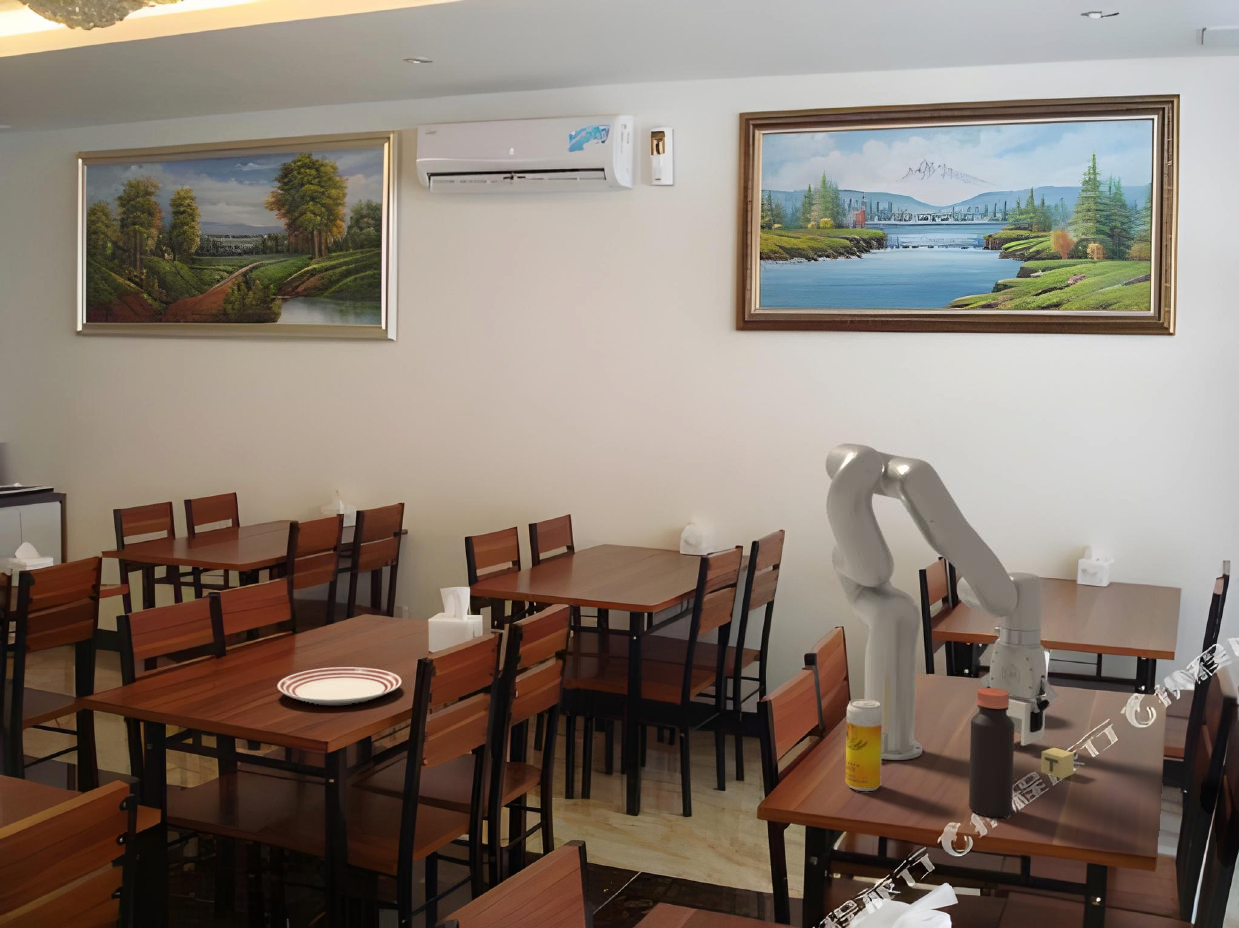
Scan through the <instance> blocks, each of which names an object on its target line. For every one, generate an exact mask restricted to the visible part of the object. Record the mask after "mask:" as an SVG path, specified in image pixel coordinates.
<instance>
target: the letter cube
mask: <svg viewBox="0 0 1239 928" xmlns="http://www.w3.org/2000/svg"><path fill="white" fill-rule="evenodd" d="M1040 760H1041V761H1040V762H1041V765H1040V766H1041V767H1040V769H1041V770H1040V773H1041V772H1045V773H1046V774H1045V775H1047V774H1050V775H1053V776H1052V777H1054V776H1055V777H1054V778H1057V777H1058V779H1060V780H1061V779H1065V778H1067V777H1069V776H1072V775H1074V764H1075V762H1074V761H1075V752H1073V751H1072V752H1071V751H1067V750H1065V749H1061V748H1056V747H1052V748H1049V749H1046V750H1043V751H1041V759H1040ZM1050 775H1049V776H1050Z"/></svg>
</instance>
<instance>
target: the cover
mask: <svg viewBox="0 0 1239 928" xmlns="http://www.w3.org/2000/svg"><path fill="white" fill-rule="evenodd" d="M1042 698H1043V700H1044V699H1045V698H1046V697H1042ZM1036 701H1037V700H1036ZM1037 702H1038V701H1037ZM1032 711H1033V709H1032V707H1031V702H1029V699H1025V698H1021V697H1016V696H1012V695H1009V707H1008V710H1007V715H1008V717H1009V718H1010V719H1011V720H1012V721H1013V723H1014V733H1019V734H1020V735H1021V736H1020V738H1021V739H1020V746H1023V747H1024V746H1027V745H1029V744H1033V743H1035V742H1037V741H1038V742H1039V741H1041V740H1044V739H1045V728H1046V727H1045V725H1046V723H1045V722H1046V719H1045V718H1046V710H1044V711H1043V726H1042V728H1041V730H1040V731H1037V732H1034V733H1033V732H1030V714H1031V712H1032Z"/></svg>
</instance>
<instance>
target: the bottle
mask: <svg viewBox="0 0 1239 928" xmlns="http://www.w3.org/2000/svg"><path fill="white" fill-rule="evenodd" d="M1008 707H1009V693H1008V692H1007V691H1005V690H1001V689H995V688H985V687H984V688H979V689H978V690H977V708H978V709H979V711H978V712H977V713H976V714H975V715H974V716H973V717H971V720H970V744H969V745H970V746H969V747H970V749H969V780H968V781H969V783H968V784H969V785H968V786H969V787H968V791H969V792H968V807H970V808H969V810H970V809H971V810H972V811H971V810H970V811H971V812H973V811H975V812H977V813H979V814H982V815H985V816H984V817H986V816H988V818H995V817H996V818H997V819H998V818H1005V817H1008V816H1010V815H1012V811H1013V791H1014V790H1013V789H1014V788H1013V786H1014V785H1013V784H1014V781H1013V780H1014V755H1015V753H1014V751H1015V750H1014V749H1015V748H1014V747H1015V732H1014V723H1013V721H1012V720H1011V719H1010V718H1009V717H1008V715H1007V710H1008ZM979 814H978V815H979ZM982 815H981V816H982Z"/></svg>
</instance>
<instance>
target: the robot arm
mask: <svg viewBox="0 0 1239 928" xmlns="http://www.w3.org/2000/svg"><path fill="white" fill-rule="evenodd" d="M825 470H826V474H827V476H828V477H829V478H830V480H831V483H830V484H829V485H830V486H829V488H828V492H827V497H826V505H825V506H826V507H825V508H826V515H827V518H828V521H829V525H830V527H831V530H832V533H833V536H834V538H835V541H836V542H835V544H834V546H833V548H832V553H831V559H832V560H831V561H832V565H833V570H834V572H835V574H836V577H837V580H838V582H839V584H840V586H841V588H842V590H843V593H844V596H845V598H846V600H847V603H848V604H849V606H850V610H851V611H852V613H853V614H854V617H855V618H856V619H857V620H858V622H860V623H861V624H862V625H863V626H865V627H866V628H868V637H867V642H866V647H865V654H864V655H865V656H864V692H863V693H864V696H863V697H864V698H863V699H869V700H874V701H877V702H879V703H880V706H881V708H882V758H881V760H889V761H890V760H891V761H901V760H902V761H904V760H911V759H916V758H919V757H920V756H921V755H922V754H923V746H922V744H921V743H919V742H918V741H916V740H915V713H916V673H917V672H916V670H917V669H916V668H917V667H916V664H917V663H916V662H917V650H918V649H917V647H918V641H919V635H920V629H921V623H922V622H921V619H922V618H921V611H920V607H919V605H918V603H917V602H916V601H915V599H914V598H913V597H912V596H911V595H910V594H909V593H907V592H905V591H903V590H901V589H900V588H897V587H894V586H893V584H892V582H891V580H890V579H891V577H892V576H893V574H894V570H895V562H894V558H893V557H894V556H893V555H892V552H891V550H890V548H889V545H888V544H887V541H886V538H885V537H884V535H883V532H882V530H881V527H880V526H879V523H878V520H877V517H876V515H875V514H876V513H875V511H874V508H873V497H874V496H873V495H874V494H875V495H877V496H883V497H888V498H893V499H897V500H900V501H901V503H902V505H903V506H904V508H905V509H906V512H908V514H909V516H910V517H911V519H912V521H913V522H914V524H915V525H916V527H917V528H918V530H919V532H920V534H921V535H922V536H923V538H924V540H925V541H926V543H927V545H929V547H931V548H932V549H933V551H935V553H937V554H938V555H940V556H941V557H942V558H943V559H945V560H946V561H947V562H949V563H950V564H951V565H952V566H953V567H954V568H955V569H956V570H957V572H958V573H959V574H960V575H961V577H960V579H959V580H958V581H957V585H956V593H957V596H958V598H959V600H960V601H961V602H962V604H964V605H965V606H967V607H969V608H970V609H972V610H974V611H978V612H979V613H982V614H984V615H987V616H988V617H992V618H999V626H995V628H994V633H995V634H998V638H999V639H998V640H995V642H994V645H993V650H992V655H991V659H990V662H991V666H990V665H989V672H987V673H986V674H985V675H983V676H982V677H980V682H981V683H982V685H983V686H984V688H995V689H1001V690H1005V691H1007V692H1008V693H1009V695H1012V696H1016V697H1021V698H1025V699H1029V702H1031V707H1032V709H1033V711H1032V712H1031V714H1030V732H1033V733H1034V732H1037V731H1040V730H1041V728H1042V726H1043V711H1044V710H1045V711H1046V710H1047V709H1048V708H1049V707H1050V706H1051V705H1053V703H1054V702H1055V701H1056V700H1057V699H1059V693H1058V692H1057V691H1056V690H1055V688H1053V686H1051V684H1050V683H1049V682H1048V680H1047V679H1048V676H1047V675H1048V674H1047V673H1048V672H1047V661H1046V654H1045V649H1044V646H1043V645H1041V634H1042V631H1041V630H1042V605H1043V603H1042V602H1043V601H1042V600H1043V582H1042V581H1043V580H1042V579H1041V577H1040V576H1039V575H1037V574H1034V573H1029V572H1007V570H1006V569H1005V567H1004V566H1003V564H1002V562H1001V561H1000V559H999V558H998V556H997V555H996V554H995V552H994V551H993V550H992V549H991V547H989V545H988V544H987V543H986V541H984V540H983V538H982V537H981V536H980V535H979V533H978V531H976V530H975V529H974V528H973V527H972V525H971V524H970V523H969V522H968V520H967V518H965V516H964V515H963V513H962V511H961V510H960V508H959V506H958V505H957V503H956V501H955V500H954V498H953V497H952V495H951V493H950V492H949V490H948V489H947V487H946V485H945V483H944V482H943V480H942V479H941V477H940V475H939V474H938V472H937V471H936V470H935V468H934V467H933V466H932V465H931V464H930V463H929V462H928V461H925V460H924V459H919V458H912V457H906V456H900V455H895V454H891V453H886V452H882V451H878V450H877V449H875V448H874V447H871V446H869V445H864V444H863V445H862V444H856V443H841V444H839V445H836V446H835V447H834V448H832V449H831V451H830V452H829V453H828V455H827V457H826V459H825ZM1045 695H1046V697H1043V696H1045ZM1043 698H1045V699H1044V700H1043ZM1036 700H1037V701H1038V702H1037V701H1036Z"/></svg>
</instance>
